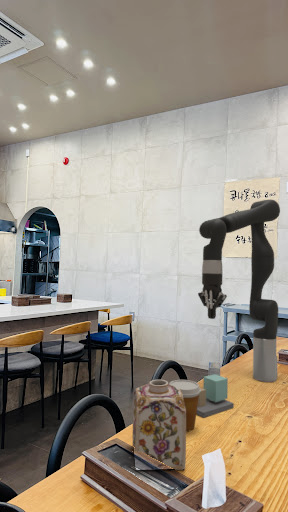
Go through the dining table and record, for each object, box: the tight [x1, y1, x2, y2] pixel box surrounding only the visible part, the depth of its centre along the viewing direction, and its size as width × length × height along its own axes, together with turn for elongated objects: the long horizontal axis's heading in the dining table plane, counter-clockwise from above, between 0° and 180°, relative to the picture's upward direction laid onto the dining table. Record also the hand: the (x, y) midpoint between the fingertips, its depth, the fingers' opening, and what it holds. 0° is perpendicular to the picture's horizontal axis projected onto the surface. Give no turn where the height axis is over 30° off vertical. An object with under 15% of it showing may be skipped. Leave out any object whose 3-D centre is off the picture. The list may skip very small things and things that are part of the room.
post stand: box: [196, 387, 235, 419], centre depth 113 cm, size 14×10×8 cm
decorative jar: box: [132, 379, 187, 471], centre depth 83 cm, size 12×12×18 cm
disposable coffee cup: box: [168, 379, 201, 432], centre depth 99 cm, size 10×10×12 cm
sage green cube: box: [202, 374, 229, 402], centre depth 115 cm, size 6×6×7 cm
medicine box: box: [207, 361, 221, 376], centre depth 132 cm, size 8×4×9 cm, turn 168°
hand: (211, 318), depth 129 cm, fingers closed
